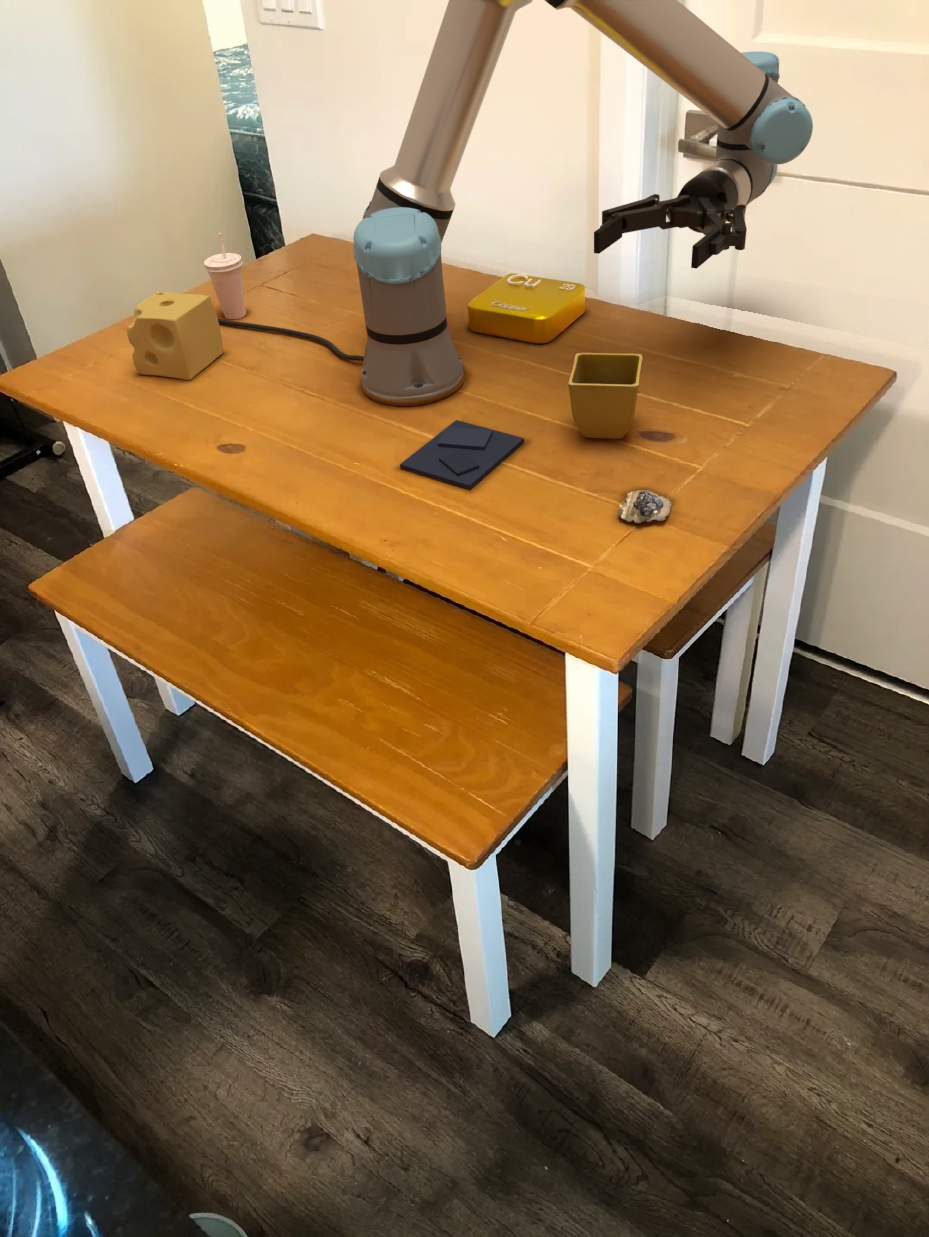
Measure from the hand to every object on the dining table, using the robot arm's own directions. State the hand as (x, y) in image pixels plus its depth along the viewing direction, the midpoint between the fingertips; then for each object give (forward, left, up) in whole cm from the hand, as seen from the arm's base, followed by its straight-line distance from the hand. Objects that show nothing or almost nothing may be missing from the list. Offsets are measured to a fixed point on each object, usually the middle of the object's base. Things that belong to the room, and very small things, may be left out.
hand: (644, 250), depth 124 cm
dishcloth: (-13, -24, -21) cm, 34 cm away
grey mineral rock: (+13, -24, -21) cm, 34 cm away
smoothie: (-76, -3, -21) cm, 79 cm away
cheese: (-70, -21, -21) cm, 76 cm away
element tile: (-28, +16, -21) cm, 39 cm away
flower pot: (0, -10, -21) cm, 23 cm away
